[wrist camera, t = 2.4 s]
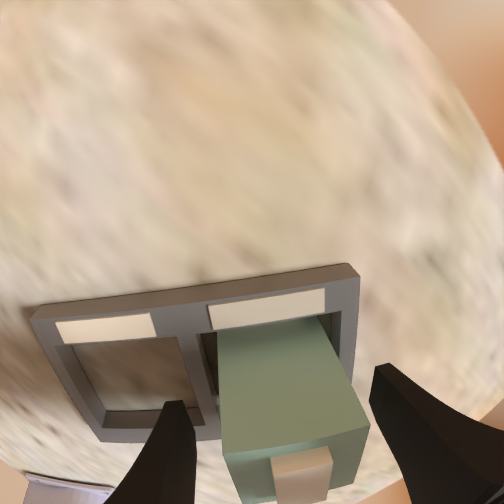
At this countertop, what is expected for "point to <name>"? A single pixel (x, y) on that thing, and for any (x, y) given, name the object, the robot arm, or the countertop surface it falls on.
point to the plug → (287, 413)
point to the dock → (191, 335)
